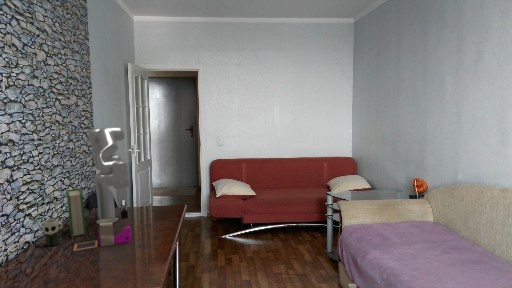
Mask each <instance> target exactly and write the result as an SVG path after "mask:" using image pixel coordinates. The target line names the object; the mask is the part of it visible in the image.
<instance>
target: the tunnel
mask: <svg viewBox="0 0 512 288" xmlns="http://www.w3.org/2000/svg"><path fill="white" fill-rule="evenodd" d="M99 231H100V233H101V244H102V246H101V247H107V246H108V245H109V246H114V245H115V244H114V225H113V223H112V218H107V219H100V224H99Z"/></svg>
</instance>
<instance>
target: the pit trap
mask: <svg viewBox="0 0 512 288" xmlns="http://www.w3.org/2000/svg"><path fill="white" fill-rule="evenodd" d="M98 242H99V241H98V240H97V239H96V240H92V241H86V242H81V243H75V244H74V247H73V250H72V251H73V252H76V251H83V250H88V249H95V248H98Z"/></svg>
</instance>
